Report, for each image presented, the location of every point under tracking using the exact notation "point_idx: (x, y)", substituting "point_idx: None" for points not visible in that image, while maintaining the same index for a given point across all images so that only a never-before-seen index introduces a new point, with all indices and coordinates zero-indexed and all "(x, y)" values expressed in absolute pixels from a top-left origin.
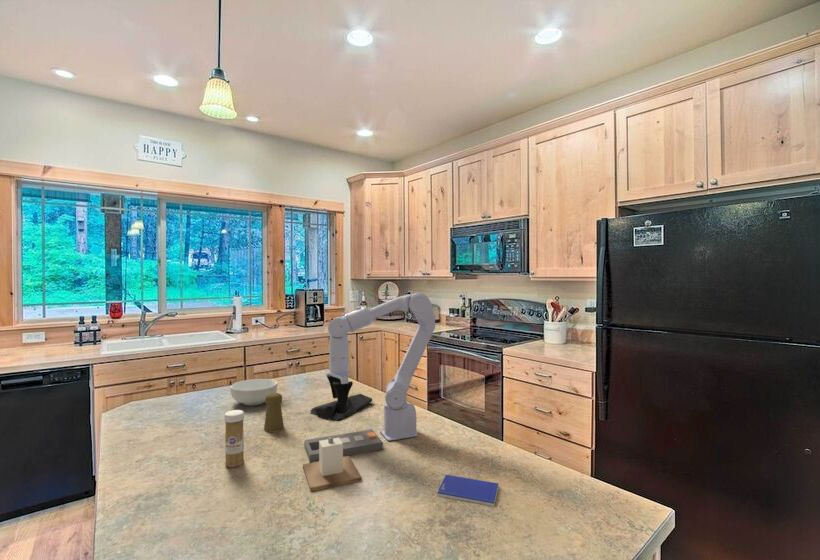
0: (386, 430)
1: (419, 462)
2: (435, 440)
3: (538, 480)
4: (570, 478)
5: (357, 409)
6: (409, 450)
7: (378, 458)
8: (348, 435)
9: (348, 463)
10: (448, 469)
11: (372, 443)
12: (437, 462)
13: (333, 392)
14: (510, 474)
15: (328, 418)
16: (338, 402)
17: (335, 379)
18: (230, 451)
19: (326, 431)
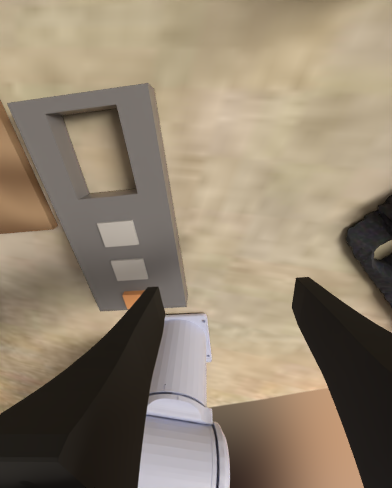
0: (165, 331)
1: (46, 336)
2: None
3: None
4: None
5: (385, 298)
6: (97, 335)
7: (62, 283)
8: (158, 247)
9: (8, 221)
10: (24, 359)
11: (93, 291)
12: (47, 355)
13: (315, 305)
14: (17, 402)
15: (386, 203)
16: (137, 299)
17: (385, 432)
18: None
19: (270, 184)
